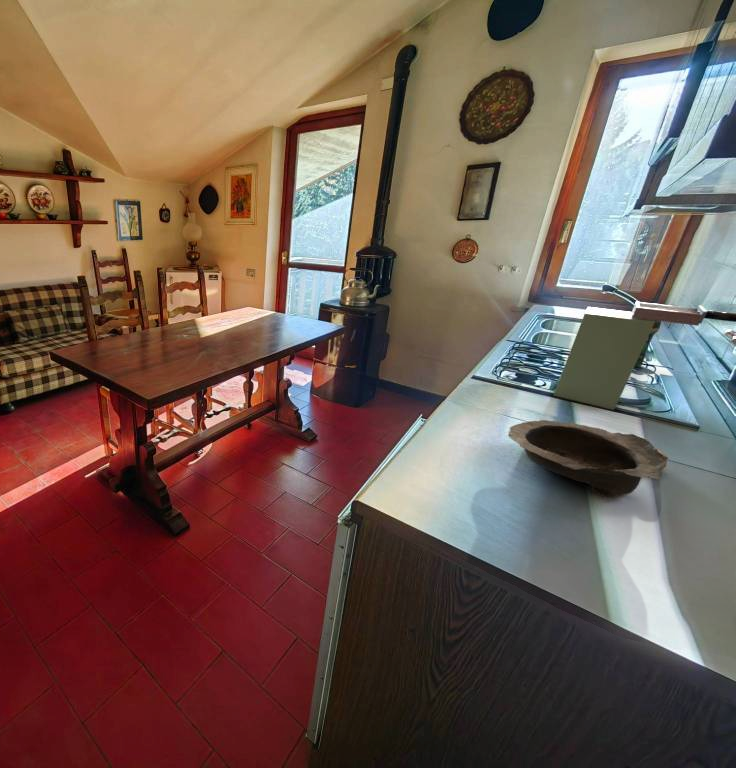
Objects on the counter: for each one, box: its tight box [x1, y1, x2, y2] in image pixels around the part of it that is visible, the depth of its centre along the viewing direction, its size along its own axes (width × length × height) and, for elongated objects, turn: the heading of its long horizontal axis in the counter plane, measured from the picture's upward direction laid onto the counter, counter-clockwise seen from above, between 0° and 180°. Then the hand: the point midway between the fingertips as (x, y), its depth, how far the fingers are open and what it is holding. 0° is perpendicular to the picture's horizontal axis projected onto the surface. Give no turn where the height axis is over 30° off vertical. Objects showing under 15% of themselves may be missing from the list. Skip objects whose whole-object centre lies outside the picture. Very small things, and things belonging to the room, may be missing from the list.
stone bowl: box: [507, 419, 669, 498], centre depth 83 cm, size 25×25×9 cm
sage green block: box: [552, 306, 655, 411], centre depth 115 cm, size 14×12×26 cm
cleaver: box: [631, 301, 736, 327], centre depth 100 cm, size 23×10×4 cm, turn 46°
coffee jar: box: [634, 320, 662, 368], centre depth 145 cm, size 10×8×19 cm
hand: (729, 334), depth 104 cm, fingers open, 8 cm apart
